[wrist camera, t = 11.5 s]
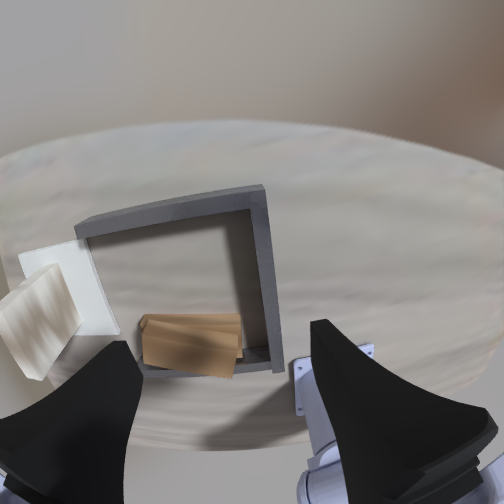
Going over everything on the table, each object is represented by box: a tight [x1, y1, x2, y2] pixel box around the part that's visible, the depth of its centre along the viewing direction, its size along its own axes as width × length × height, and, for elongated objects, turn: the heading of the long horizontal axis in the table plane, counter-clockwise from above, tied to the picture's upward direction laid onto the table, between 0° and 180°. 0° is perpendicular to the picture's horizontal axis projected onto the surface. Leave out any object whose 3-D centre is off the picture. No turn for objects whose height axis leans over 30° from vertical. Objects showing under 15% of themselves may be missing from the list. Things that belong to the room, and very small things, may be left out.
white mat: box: [18, 238, 121, 335], centre depth 20 cm, size 9×9×1 cm
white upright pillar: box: [0, 263, 82, 381], centre depth 16 cm, size 6×2×8 cm, turn 8°
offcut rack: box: [74, 184, 285, 378], centre depth 19 cm, size 14×13×2 cm
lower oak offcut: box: [140, 313, 243, 358], centre depth 21 cm, size 4×8×2 cm, turn 91°
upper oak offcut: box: [142, 319, 238, 378], centre depth 19 cm, size 3×7×2 cm, turn 79°
